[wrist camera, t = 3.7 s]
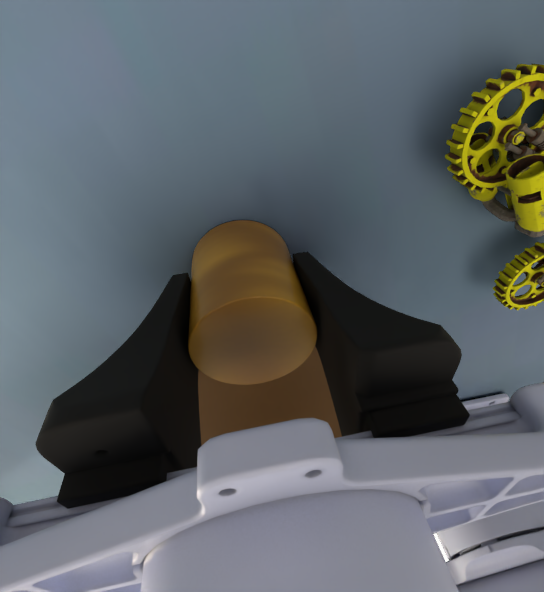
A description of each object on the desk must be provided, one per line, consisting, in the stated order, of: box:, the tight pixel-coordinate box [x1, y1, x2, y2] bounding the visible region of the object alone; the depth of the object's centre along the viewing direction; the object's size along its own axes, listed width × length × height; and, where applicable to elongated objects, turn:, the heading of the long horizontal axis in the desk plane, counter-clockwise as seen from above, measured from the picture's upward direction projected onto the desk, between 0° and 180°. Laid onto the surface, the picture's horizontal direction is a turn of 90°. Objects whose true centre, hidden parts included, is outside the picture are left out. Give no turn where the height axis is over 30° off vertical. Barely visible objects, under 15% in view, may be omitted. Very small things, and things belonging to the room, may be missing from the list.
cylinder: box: [188, 220, 317, 385], centre depth 13 cm, size 4×4×5 cm
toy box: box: [198, 347, 342, 445], centre depth 19 cm, size 13×11×7 cm
